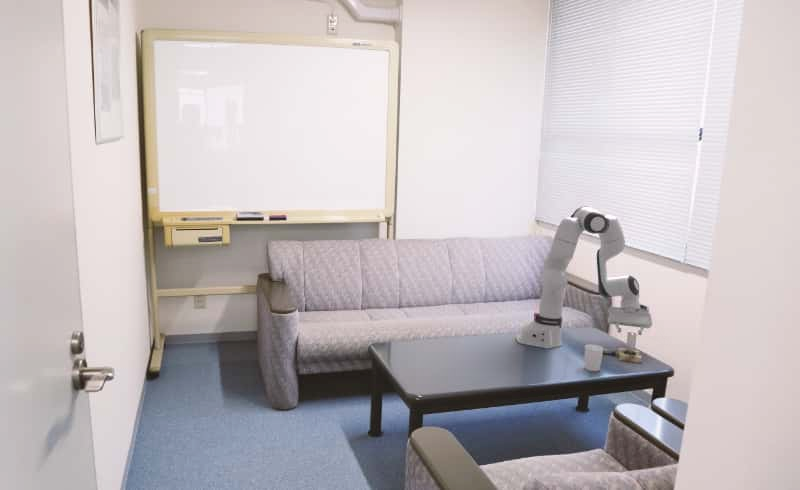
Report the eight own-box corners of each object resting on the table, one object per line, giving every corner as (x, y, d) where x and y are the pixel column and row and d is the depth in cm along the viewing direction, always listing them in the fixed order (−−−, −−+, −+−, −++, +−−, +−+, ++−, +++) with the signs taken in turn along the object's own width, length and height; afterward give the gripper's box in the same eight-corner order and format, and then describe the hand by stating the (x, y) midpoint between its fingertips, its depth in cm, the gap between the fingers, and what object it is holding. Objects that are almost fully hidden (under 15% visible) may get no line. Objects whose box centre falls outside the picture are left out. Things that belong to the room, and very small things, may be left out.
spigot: (625, 358, 285) (628, 334, 283) (624, 355, 289) (627, 331, 287) (634, 359, 285) (637, 335, 282) (633, 356, 288) (636, 332, 286)
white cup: (602, 372, 267) (604, 351, 265) (583, 370, 268) (585, 349, 266) (600, 366, 274) (602, 345, 272) (582, 364, 276) (584, 343, 274)
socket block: (619, 360, 283) (619, 354, 283) (617, 352, 293) (617, 347, 292) (641, 362, 281) (642, 357, 281) (639, 355, 290) (639, 350, 290)
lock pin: (598, 352, 293) (598, 353, 290) (598, 347, 293) (598, 349, 290) (615, 355, 291) (615, 356, 289) (615, 350, 291) (616, 351, 288)
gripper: (608, 302, 302) (607, 327, 294) (652, 307, 297) (652, 332, 289) (607, 309, 307) (606, 333, 299) (650, 313, 302) (650, 338, 294)
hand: (629, 333), depth 294 cm, fingers open, 8 cm apart
